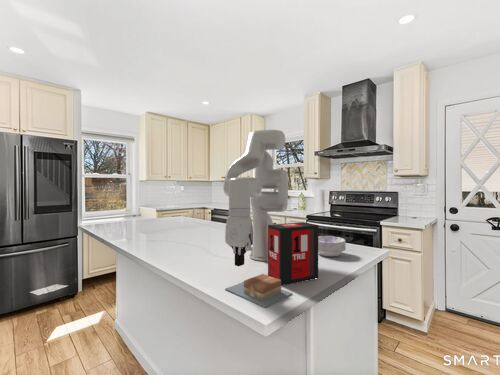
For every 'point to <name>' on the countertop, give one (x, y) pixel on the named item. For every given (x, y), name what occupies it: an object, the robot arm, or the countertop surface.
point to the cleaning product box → (293, 252)
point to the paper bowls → (331, 245)
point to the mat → (266, 303)
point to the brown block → (262, 286)
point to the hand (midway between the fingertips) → (239, 264)
